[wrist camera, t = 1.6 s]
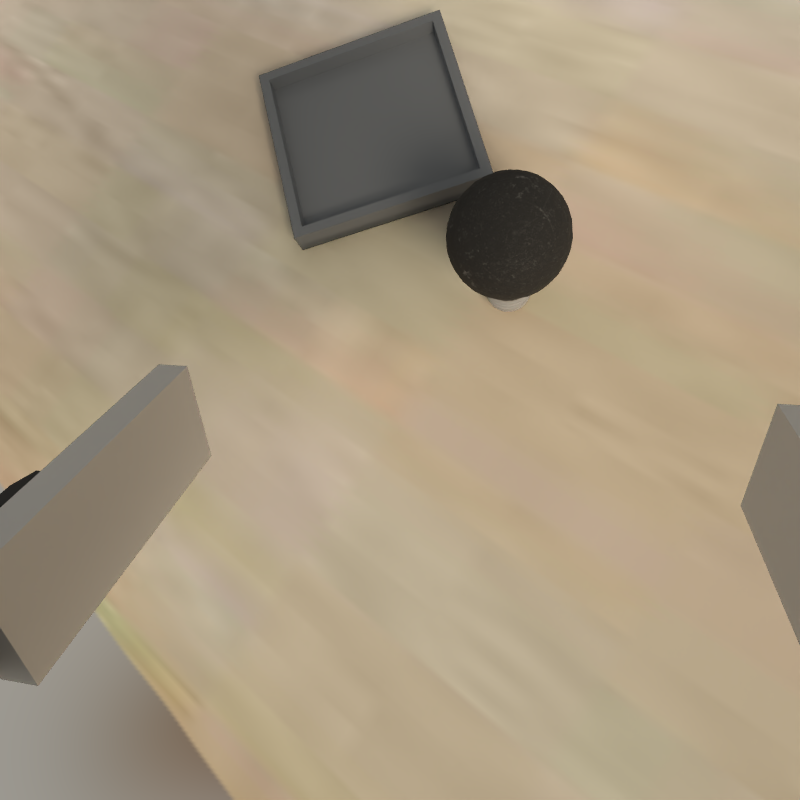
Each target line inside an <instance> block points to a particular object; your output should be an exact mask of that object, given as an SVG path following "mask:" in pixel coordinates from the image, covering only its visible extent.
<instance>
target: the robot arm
mask: <svg viewBox="0 0 800 800" xmlns="http://www.w3.org/2000/svg"><path fill="white" fill-rule="evenodd" d="M210 457H211V452H210V448H209V445H208V441H207V437H206V434H205V430H204V426H203V423H202V419H201V415H200V412H199V408H198V404H197V401H196V397H195V393H194V390H193V386H192V382H191V379H190V375H189V371H188V367H187V366H175V365H160V364H159V365H158V366H157V367H156V368H154V369H153V370H152V371H151V372H150V373H149V374H148V375H147V376H146V377H144V378H143V379H142V380H141V381H140V382H139V383H138V384H137V385H136V386H134V387H133V388H132V389H131V390H130V391H129V392H128V393H127V394H126V395H124V396H123V397H122V398H121V399H120V400H119V401H118V402H117V403H116V404H115V405H113V406H112V407H111V408H110V409H109V410H108V411H107V412H106V413H105V414H103V415H102V416H101V417H100V418H99V419H98V420H97V421H96V422H95V423H93V424H92V425H91V426H90V427H89V428H88V429H87V430H86V431H85V432H84V433H82V434H81V435H80V436H79V437H78V438H77V439H76V440H75V441H74V442H72V443H71V444H70V445H69V446H68V447H67V448H66V449H65V450H64V451H62V452H61V453H60V454H59V455H58V456H57V457H56V458H55V459H54V460H52V461H51V462H50V463H49V464H48V465H47V466H46V467H45V468H44V469H43V470H41V471H35V472H33V473H31V474H30V475H28V476H26V477H24V478H22V479H21V480H19V481H17V482H15V483H14V484H12V485H10V486H9V487H8V488H7V489H5V490H4V491H3V492H2V493H1V494H0V678H1V679H4V680H9V681H15V682H20V683H25V684H31V685H36V686H38V685H39V684H40V682H41V681H42V680H43V679H44V677H45V676H46V675H47V673H48V672H49V671H50V669H51V668H52V667H53V665H54V664H55V663H56V661H57V660H58V659H59V657H60V656H61V655H62V653H63V652H64V651H65V649H66V648H67V647H68V645H69V644H70V643H71V641H72V640H73V639H74V637H75V636H76V635H77V633H78V632H79V631H80V630H81V628H82V627H83V626H84V624H85V623H86V621H87V620H88V619H89V618H90V616H91V615H92V613H93V612H94V611H95V610H96V608H97V607H98V606H99V604H100V603H101V602H102V600H103V599H104V598H105V596H106V595H107V594H108V592H109V591H110V590H111V588H112V587H113V586H114V584H115V583H116V582H117V580H118V579H119V578H120V576H121V575H122V574H123V572H124V571H125V570H126V568H127V567H128V566H129V564H130V563H131V562H132V560H133V559H134V558H135V556H136V555H137V554H138V552H139V551H140V550H141V548H142V547H143V546H144V544H145V543H146V542H147V541H148V539H149V538H150V537H151V535H152V534H153V533H154V531H155V530H156V529H157V527H158V526H159V525H160V523H161V522H162V521H163V519H164V518H165V517H166V515H167V514H168V513H169V511H170V510H171V509H172V507H173V506H174V505H175V503H176V502H177V501H178V499H179V498H180V497H181V495H182V494H183V493H184V491H185V490H186V489H187V487H188V486H189V485H190V483H191V482H192V481H193V479H194V478H195V477H196V475H197V474H198V473H199V471H200V470H201V469H202V467H203V466H204V465H205V463H206V462H207V461H208V459H209V458H210ZM741 507H742V510H743V512H744V514H745V517H746V519H747V521H748V524H749V526H750V528H751V531H752V533H753V536H754V538H755V540H756V543H757V545H758V547H759V550H760V552H761V555H762V557H763V559H764V562H765V564H766V566H767V569H768V571H769V573H770V576H771V578H772V581H773V583H774V585H775V588H776V590H777V592H778V595H779V597H780V599H781V602H782V604H783V607H784V609H785V611H786V614H787V616H788V618H789V621H790V623H791V625H792V628H793V630H794V633H795V635H796V637H797V640H798V642H799V644H800V405H787V404H777V407H776V410H775V412H774V415H773V418H772V421H771V423H770V426H769V429H768V432H767V434H766V437H765V440H764V443H763V445H762V448H761V451H760V454H759V456H758V459H757V462H756V465H755V467H754V470H753V473H752V476H751V479H750V481H749V484H748V487H747V490H746V492H745V495H744V498H743V501H742V503H741Z"/></svg>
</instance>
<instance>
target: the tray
mask: <svg viewBox="0 0 800 800" xmlns="http://www.w3.org/2000/svg"><path fill="white" fill-rule="evenodd" d="M259 78H260V83H261V87H262V92H263V96H264V101H265V106H266V110H267V115H268V119H269V124H270V129H271V133H272V138H273V142H274V147H275V152H276V156H277V161H278V165H279V170H280V175H281V179H282V184H283V188H284V193H285V198H286V202H287V207H288V211H289V216H290V221H291V225H292V230H293V234H294V239H295V240H296V241H297V243H298V244H299V245H300V247H301V248H302V249H303V250H304V249H307V248H311V247H314V246H317V245H320V244H323V243H326V242H329V241H332V240H335V239H338V238H342V237H345V236H348V235H351V234H354V233H357V232H360V231H363V230H366V229H369V228H372V227H376V226H379V225H382V224H385V223H388V222H391V221H394V220H397V219H400V218H403V217H407V216H410V215H413V214H416V213H419V212H422V211H425V210H428V209H431V208H434V207H438V206H441V205H444V204H447V203H450V202H453V201H456V200H458V199H459V198H460V196H461V195H462V194H463V193H464V192H465V191H466V190H467V189H468V188H469V187H470V186H471V185H472V184H473V183H474V182H475V181H477V180H479V179H481V178H482V177H484V176H486V175H489V174H491V173H493V171H492V168H491V165H490V162H489V159H488V156H487V153H486V150H485V147H484V144H483V141H482V138H481V134H480V131H479V128H478V125H477V122H476V119H475V116H474V113H473V110H472V107H471V104H470V101H469V98H468V95H467V92H466V89H465V86H464V83H463V80H462V77H461V74H460V70H459V67H458V64H457V61H456V58H455V55H454V52H453V49H452V46H451V43H450V40H449V37H448V34H447V31H446V28H445V25H444V22H443V19H442V16H441V13H440V10H438V11H435V12H432V13H429V14H427V15H424V16H421V17H419V18H416V19H413V20H410V21H408V22H405V23H402V24H399V25H397V26H394V27H391V28H388V29H386V30H383V31H380V32H377V33H375V34H372V35H369V36H366V37H364V38H361V39H358V40H355V41H353V42H350V43H347V44H344V45H342V46H339V47H336V48H333V49H331V50H328V51H325V52H322V53H320V54H317V55H314V56H311V57H309V58H306V59H303V60H300V61H298V62H295V63H292V64H289V65H287V66H284V67H281V68H279V69H276V70H273V71H270V72H268V73H265V74H262V75H259Z"/></svg>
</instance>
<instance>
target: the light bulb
mask: <svg viewBox="0 0 800 800" xmlns="http://www.w3.org/2000/svg"><path fill="white" fill-rule="evenodd" d="M572 239H573V232H572V218H571V215H570V211H569V208H568V205H567V203H566V202H565V200H564V198H563V196H562V195H561V194H560V193H559V191H558V190H557V189H556V188H555V187H554V186H553V185H552V184H551V183H549V182H548V181H547V180H545V179H544V178H542V177H541V176H539V175H537V174H534V173H531V172H528V171H522V170H502V171H497V172H494V173H491V174H489V175H486V176H484V177H482V178H481V179H479V180H477V181H475V182H474V183H473V184H472V185H471V186H470V187H469V188H468V189H467V190H466V191H465V192H464V193H463V194H462V195H461V196H460V198H459V199H458V200H457V202H456V204H455V206H454V208H453V209H452V212H451V215H450V218H449V221H448V225H447V233H446V242H447V252H448V255H449V258H450V261H451V264H452V266H453V268H454V269H455V271H456V273H457V274H458V275H459V277H460V278H461V279H462V281H463V282H464V283H465V284H467V285H468V286H469V287H470V288H471V289H473V290H474V291H475V292H477V293H480V294H482V295H484V296H486V297H487V298H488V300H489V301H490V303H491V304H492V305H493V306H494V307H495V308H497V309H498V310H501V311H515V310H518V309H520V308H521V307H523V306H524V305H525V304H526V302H527V301H528V299H529V297H530V295H532V294H534V293H536V292H538V291H540V290H541V289H543V288H544V287H545V286H547V285H548V284H549V283H550V282H551V281H552V280H553V279H554V278H555V277H556V276H557V275H558V274H559V272H560V271H561V269H562V267H563V265H564V264H565V262H566V260H567V257H568V255H569V253H570V250H571V245H572Z"/></svg>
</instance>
